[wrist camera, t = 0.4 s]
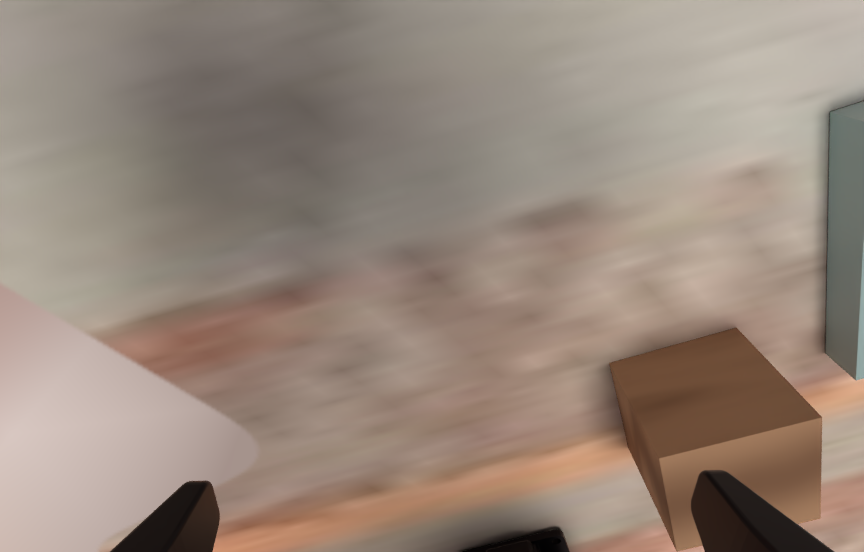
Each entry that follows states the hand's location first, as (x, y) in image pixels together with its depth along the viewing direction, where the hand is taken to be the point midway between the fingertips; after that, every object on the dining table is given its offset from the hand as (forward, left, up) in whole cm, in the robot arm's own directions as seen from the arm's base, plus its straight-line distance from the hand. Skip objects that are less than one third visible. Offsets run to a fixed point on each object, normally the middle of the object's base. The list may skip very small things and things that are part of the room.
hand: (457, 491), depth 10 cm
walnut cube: (-13, -9, -14) cm, 21 cm away
